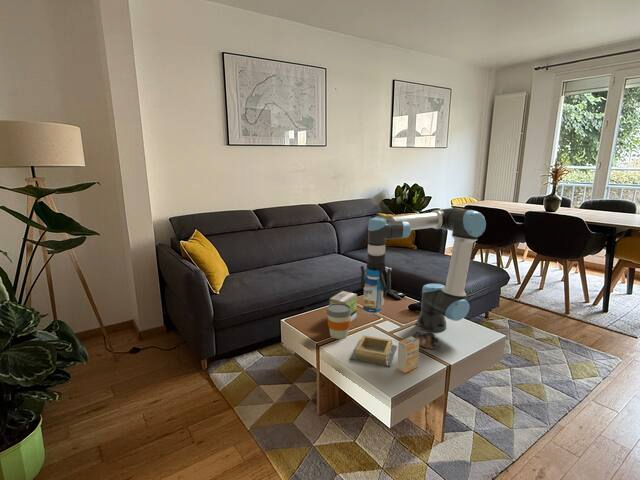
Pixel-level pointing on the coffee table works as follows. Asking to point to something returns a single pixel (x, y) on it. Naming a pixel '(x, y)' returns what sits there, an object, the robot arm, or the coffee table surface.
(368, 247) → the robot arm
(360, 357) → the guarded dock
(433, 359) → the coffee table surface
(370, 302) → the beverage bottle
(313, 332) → the coffee table surface
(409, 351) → the supplement box
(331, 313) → the reusable coffee cup
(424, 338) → the bison figurine
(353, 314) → the tea box
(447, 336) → the coffee table surface
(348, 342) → the coffee table surface
